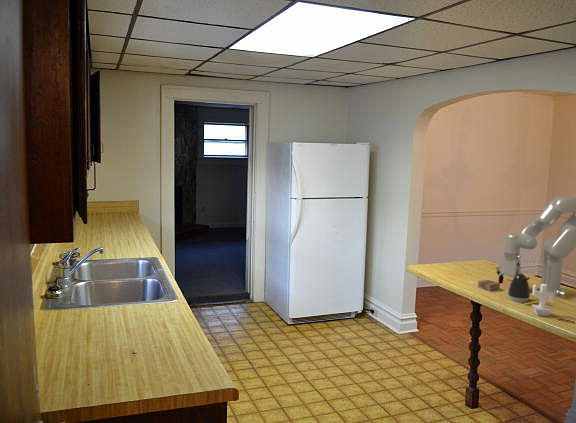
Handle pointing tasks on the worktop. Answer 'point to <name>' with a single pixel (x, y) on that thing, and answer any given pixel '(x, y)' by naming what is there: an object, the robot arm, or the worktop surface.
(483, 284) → the base block
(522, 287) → the black penguin toy
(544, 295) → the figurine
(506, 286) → the top cube
